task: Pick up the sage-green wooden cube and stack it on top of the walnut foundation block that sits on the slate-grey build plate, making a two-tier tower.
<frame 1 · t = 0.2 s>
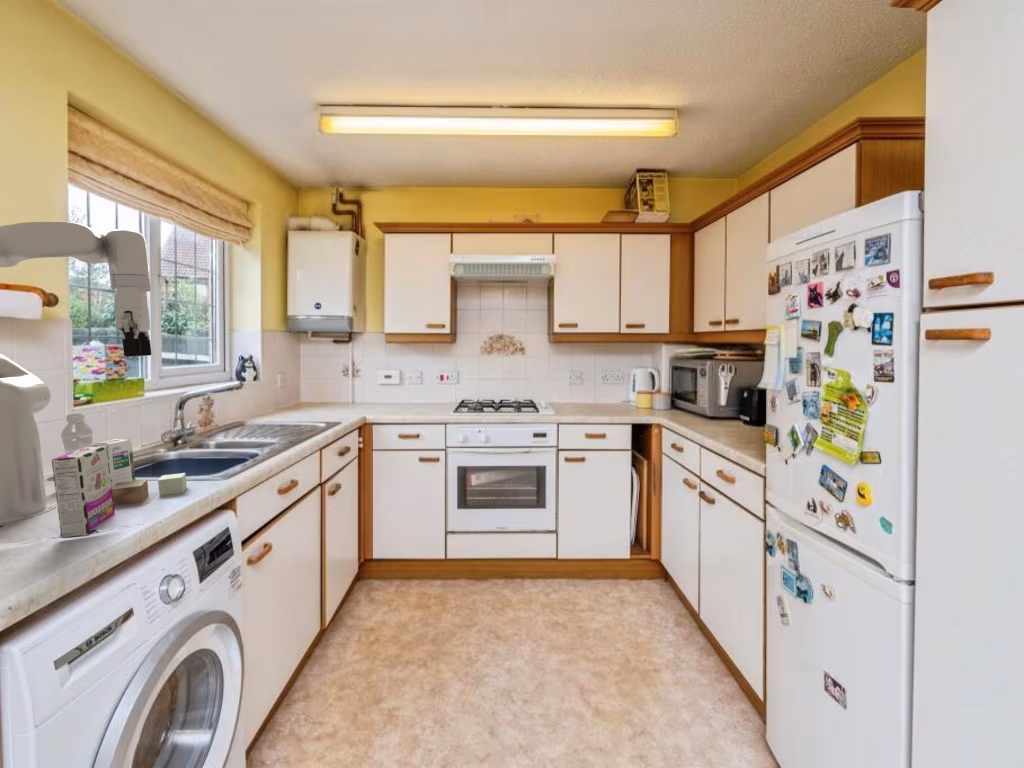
hand: (138, 355, 118), 36 cm above the countertop, tool pointing down, fingers open, 9 cm apart
syrup box: (117, 497, 125), on the countertop
candy bar box: (89, 528, 103), on the countertop
plastic bottle: (82, 486, 136), on the countertop
build plate: (130, 504, 118), on the countertop
walnut block: (130, 500, 118), point 1 cm above the countertop, touching build plate
sage cube: (173, 495, 125), on the countertop
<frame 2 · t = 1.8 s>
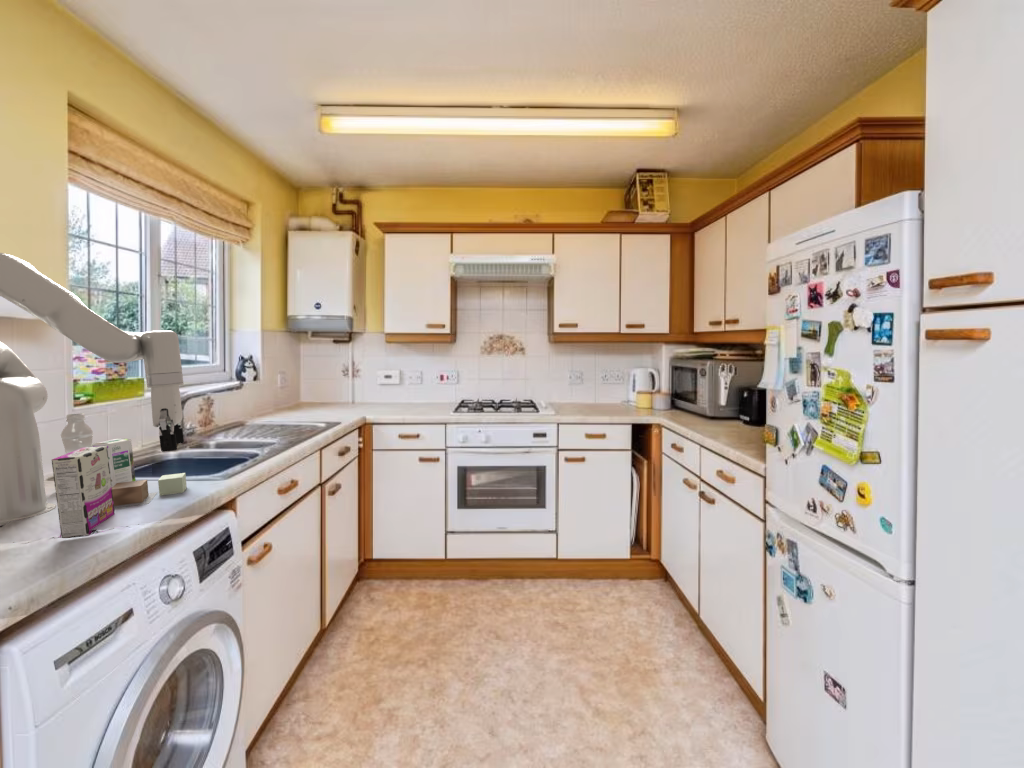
hand: (173, 447, 124), 12 cm above the countertop, tool pointing down, fingers open, 9 cm apart
nothing on the countertop moved.
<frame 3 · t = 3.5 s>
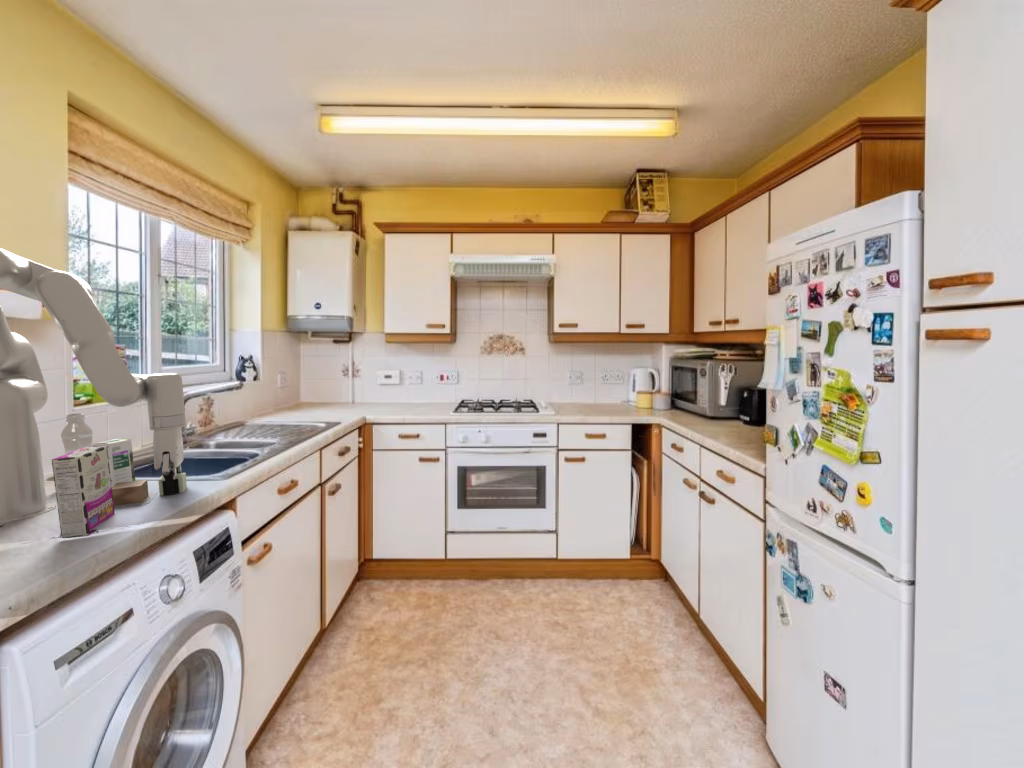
hand: (173, 491, 125), 1 cm above the countertop, tool pointing down, fingers closed on sage cube, 5 cm apart
sage cube: (174, 495, 125), on the countertop, touching gripper
everything else where it was.
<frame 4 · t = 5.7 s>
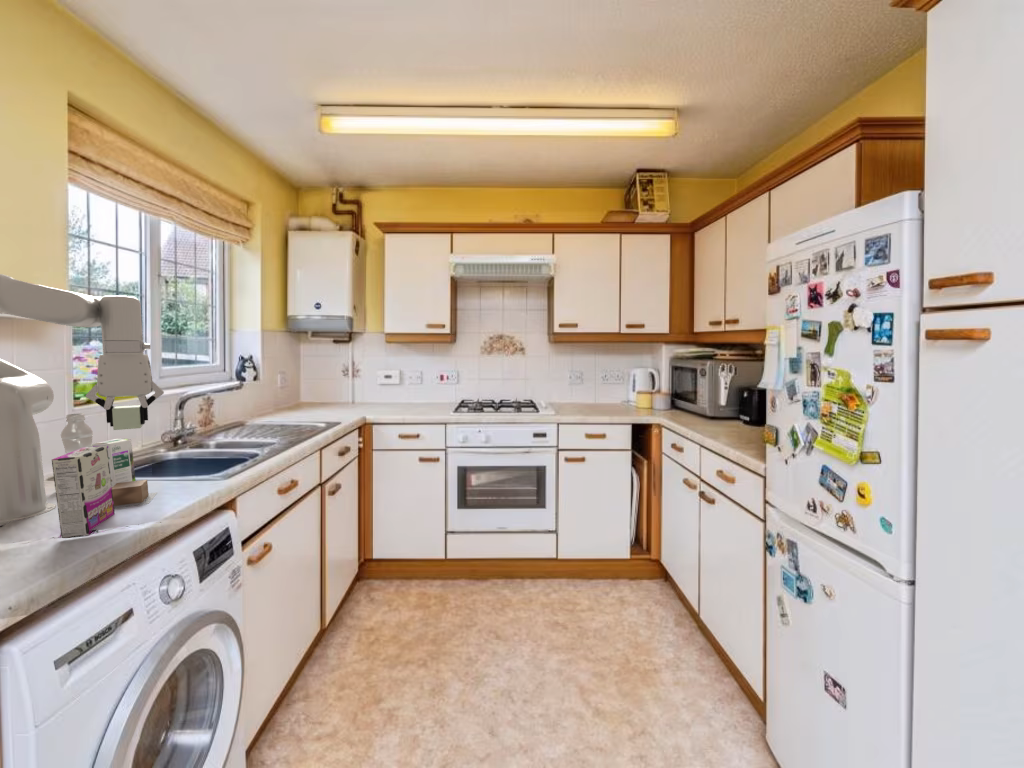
hand: (128, 423, 117), 20 cm above the countertop, tool pointing down, fingers closed on sage cube, 5 cm apart
sage cube: (128, 427, 117), point 19 cm above the countertop, touching gripper
everything else where it was.
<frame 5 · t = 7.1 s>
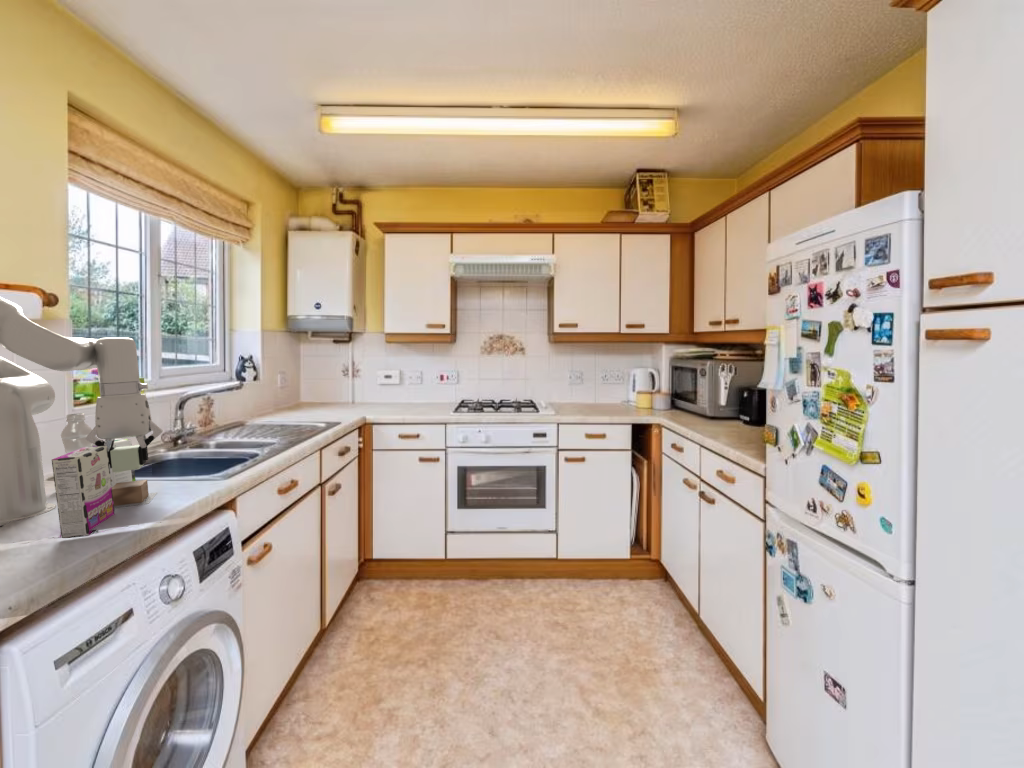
hand: (128, 464, 117), 10 cm above the countertop, tool pointing down, fingers closed on sage cube, 5 cm apart
sage cube: (128, 468, 117), point 9 cm above the countertop, touching gripper
everything else where it was.
when the fingers open (7 cm above the countertop, at t = 8.1 s): sage cube stays where it is, resting on walnut block.
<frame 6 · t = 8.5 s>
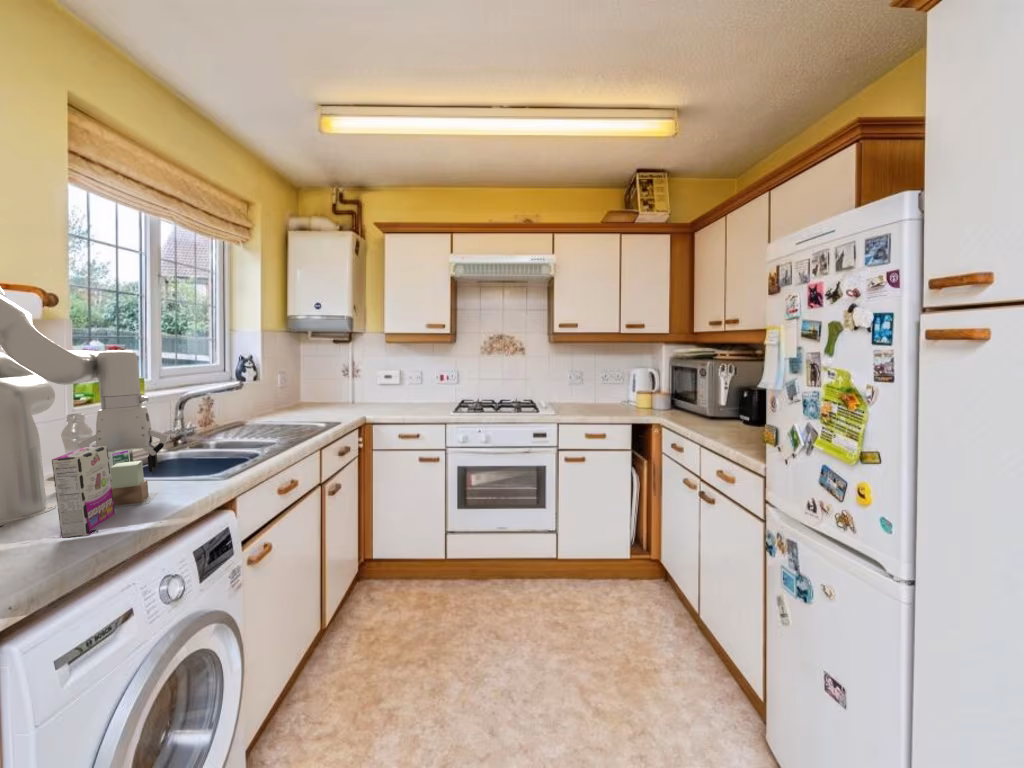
hand: (127, 473, 117), 8 cm above the countertop, tool pointing down, fingers open, 9 cm apart
walnut block: (130, 500, 118), point 1 cm above the countertop, touching build plate, sage cube
sage cube: (128, 484, 117), point 5 cm above the countertop, touching walnut block
everything else where it was.
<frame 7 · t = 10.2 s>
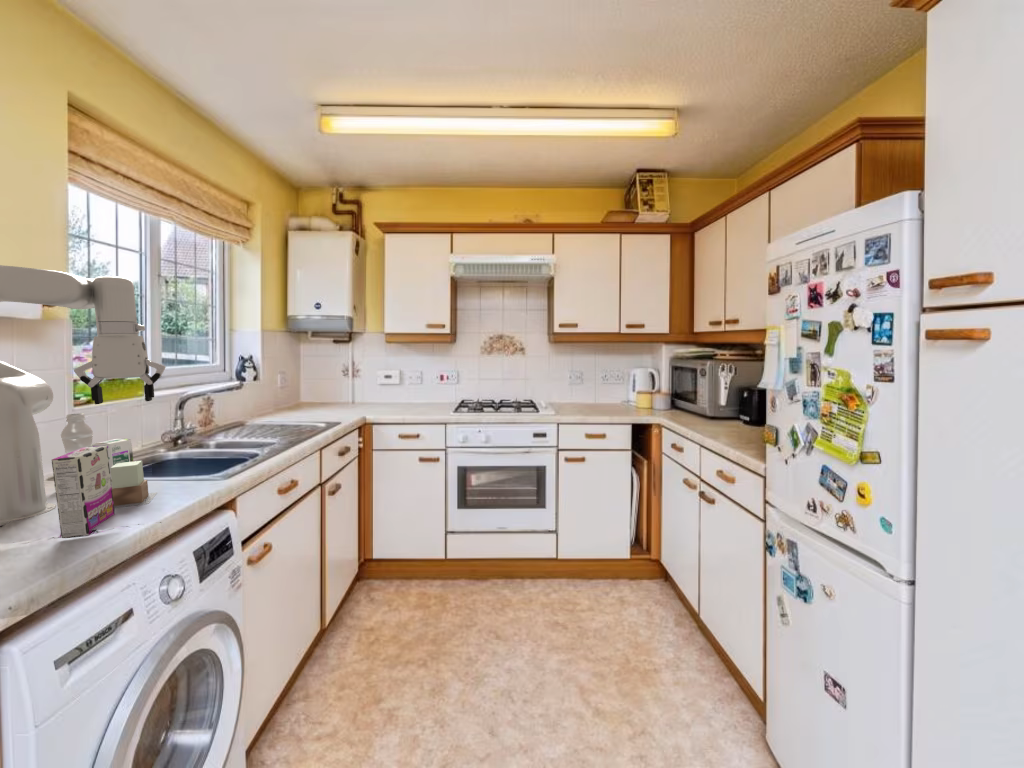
hand: (124, 402, 117), 25 cm above the countertop, tool pointing down, fingers open, 9 cm apart
nothing on the countertop moved.
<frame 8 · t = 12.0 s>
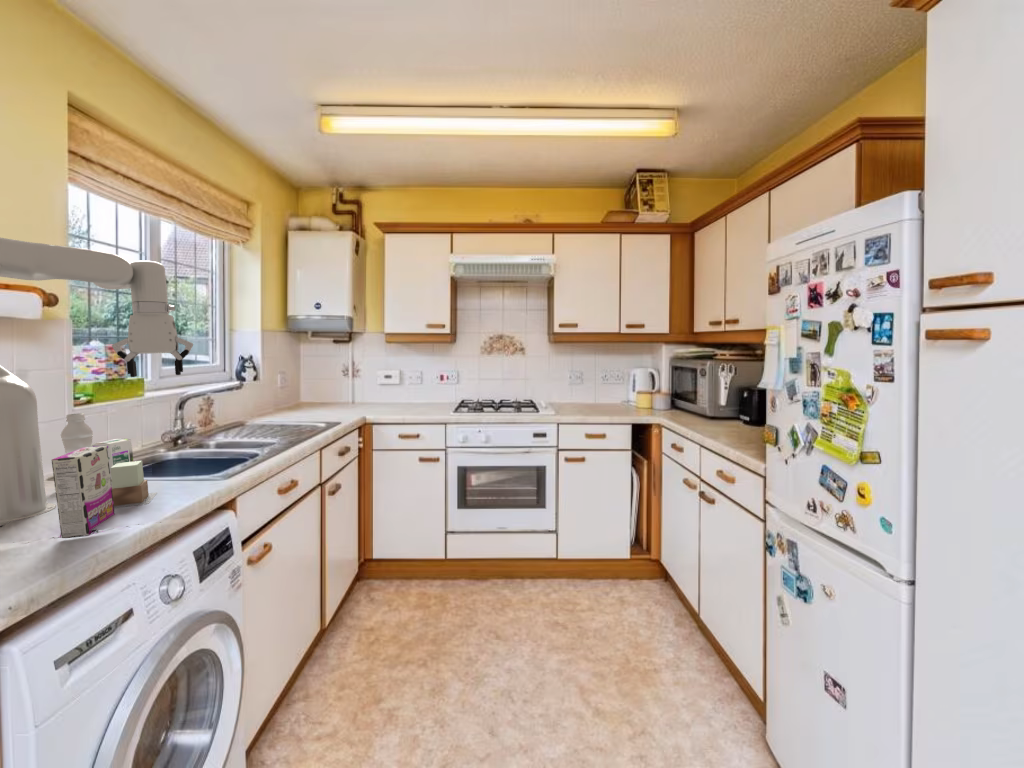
hand: (156, 375, 128), 30 cm above the countertop, tool pointing down, fingers open, 9 cm apart
nothing on the countertop moved.
at the end: sage cube 0.1 cm off-centre on the walnut block, point 4.0 cm above the walnut block's base; sage cube tilted 0°; the gripper is holding nothing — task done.
